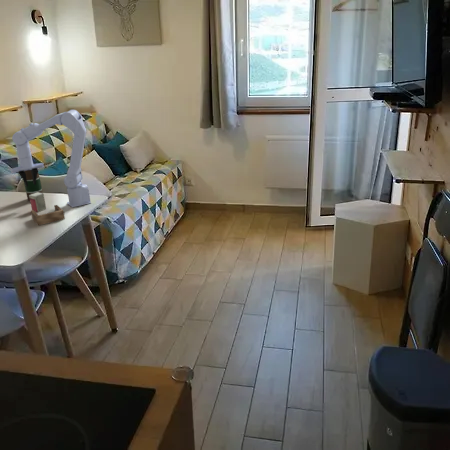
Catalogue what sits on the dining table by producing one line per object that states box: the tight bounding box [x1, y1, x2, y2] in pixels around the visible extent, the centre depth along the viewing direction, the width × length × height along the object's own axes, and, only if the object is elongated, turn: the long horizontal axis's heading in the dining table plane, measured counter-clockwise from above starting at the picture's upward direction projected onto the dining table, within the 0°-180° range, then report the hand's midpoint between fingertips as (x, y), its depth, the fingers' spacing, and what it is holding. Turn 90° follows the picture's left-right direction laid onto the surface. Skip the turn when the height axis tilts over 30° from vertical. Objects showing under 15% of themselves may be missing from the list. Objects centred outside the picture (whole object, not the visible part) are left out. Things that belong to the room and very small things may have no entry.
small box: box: [29, 192, 47, 213], centre depth 224 cm, size 5×4×8 cm
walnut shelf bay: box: [30, 204, 66, 226], centre depth 213 cm, size 12×10×4 cm
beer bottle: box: [23, 170, 44, 202], centre depth 236 cm, size 8×8×24 cm
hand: (30, 185), depth 227 cm, fingers open, 3 cm apart
